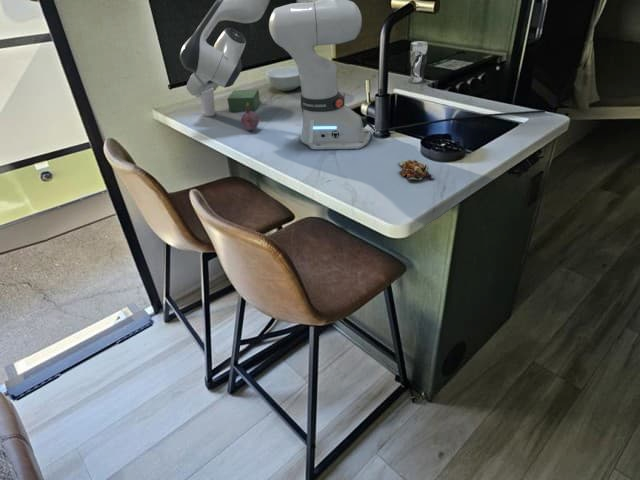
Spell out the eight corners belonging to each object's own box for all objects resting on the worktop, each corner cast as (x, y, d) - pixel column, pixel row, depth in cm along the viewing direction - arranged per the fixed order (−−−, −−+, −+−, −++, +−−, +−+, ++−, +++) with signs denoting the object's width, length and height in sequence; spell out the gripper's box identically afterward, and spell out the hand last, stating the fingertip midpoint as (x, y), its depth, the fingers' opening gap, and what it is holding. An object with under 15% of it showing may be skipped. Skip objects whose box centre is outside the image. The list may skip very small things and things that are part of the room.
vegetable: (240, 134, 147) (235, 105, 141) (245, 127, 152) (240, 99, 146) (258, 134, 146) (253, 105, 140) (262, 127, 151) (258, 99, 145)
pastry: (414, 160, 123) (414, 149, 121) (434, 179, 114) (436, 167, 112) (391, 165, 122) (391, 153, 120) (410, 184, 112) (411, 172, 110)
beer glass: (421, 84, 179) (424, 45, 170) (405, 82, 182) (407, 44, 173) (427, 79, 183) (430, 41, 175) (411, 78, 186) (414, 40, 178)
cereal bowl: (302, 94, 178) (300, 76, 174) (263, 94, 181) (261, 77, 176) (310, 82, 191) (309, 65, 187) (274, 82, 194) (272, 65, 190)
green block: (260, 101, 173) (258, 89, 170) (255, 110, 165) (253, 97, 162) (235, 102, 174) (233, 90, 172) (229, 111, 166) (227, 98, 163)
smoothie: (214, 117, 162) (207, 79, 154) (199, 117, 163) (190, 79, 155) (221, 111, 167) (214, 74, 159) (205, 111, 168) (197, 74, 160)
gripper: (232, 53, 157) (218, 78, 167) (190, 68, 143) (178, 94, 154) (244, 67, 157) (229, 91, 167) (202, 83, 144) (189, 108, 154)
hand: (204, 92), depth 160 cm, fingers closed on smoothie, 6 cm apart
